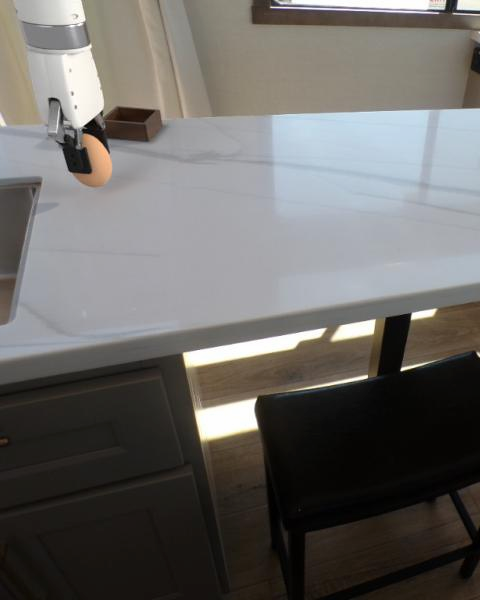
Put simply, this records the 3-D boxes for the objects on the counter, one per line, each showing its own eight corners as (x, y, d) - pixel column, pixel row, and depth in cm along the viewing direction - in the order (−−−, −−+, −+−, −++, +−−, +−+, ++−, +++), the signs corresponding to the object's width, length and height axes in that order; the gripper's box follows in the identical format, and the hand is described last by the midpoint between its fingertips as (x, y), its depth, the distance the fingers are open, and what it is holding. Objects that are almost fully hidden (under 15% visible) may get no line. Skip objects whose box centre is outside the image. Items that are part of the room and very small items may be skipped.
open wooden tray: (103, 137, 100) (99, 120, 98) (120, 122, 106) (116, 105, 104) (149, 141, 100) (145, 124, 98) (162, 126, 107) (159, 109, 105)
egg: (107, 196, 80) (94, 144, 75) (68, 192, 79) (52, 139, 74) (122, 180, 84) (111, 129, 79) (86, 176, 84) (72, 125, 79)
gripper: (57, 17, 75) (88, 139, 86) (-12, 47, 61) (35, 186, 72) (112, 24, 75) (136, 144, 87) (55, 54, 62) (92, 191, 73)
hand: (90, 162), depth 79 cm, fingers closed on egg, 5 cm apart
